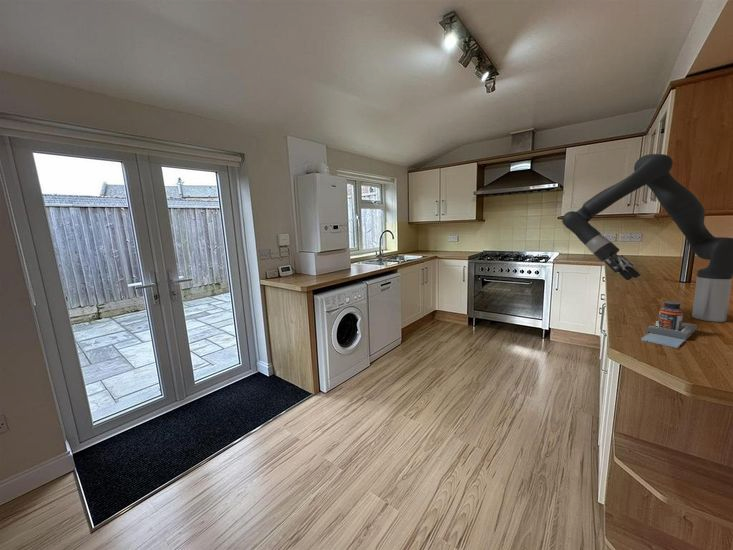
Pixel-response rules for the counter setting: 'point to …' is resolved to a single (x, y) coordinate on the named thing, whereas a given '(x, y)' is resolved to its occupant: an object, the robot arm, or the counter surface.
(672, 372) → the counter surface
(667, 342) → the coaster
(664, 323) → the supplement bottle
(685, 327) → the grey c-shaped bracket
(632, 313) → the counter surface
